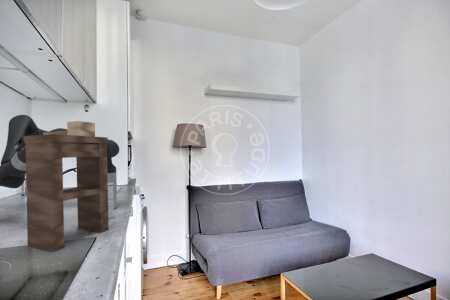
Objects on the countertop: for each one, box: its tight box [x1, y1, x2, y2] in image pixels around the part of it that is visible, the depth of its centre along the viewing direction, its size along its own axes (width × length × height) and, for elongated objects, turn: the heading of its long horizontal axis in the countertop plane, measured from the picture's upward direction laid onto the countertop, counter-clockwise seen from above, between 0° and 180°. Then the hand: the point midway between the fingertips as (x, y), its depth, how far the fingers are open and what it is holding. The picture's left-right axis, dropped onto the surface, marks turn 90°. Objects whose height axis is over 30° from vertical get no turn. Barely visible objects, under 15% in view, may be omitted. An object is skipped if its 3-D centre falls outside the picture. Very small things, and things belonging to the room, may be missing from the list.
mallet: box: [43, 120, 96, 137], centre depth 78 cm, size 6×20×5 cm, turn 69°
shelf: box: [24, 134, 110, 253], centre depth 71 cm, size 18×12×32 cm, turn 159°
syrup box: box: [108, 183, 115, 220], centre depth 91 cm, size 6×6×14 cm
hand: (52, 133), depth 80 cm, fingers open, 8 cm apart
